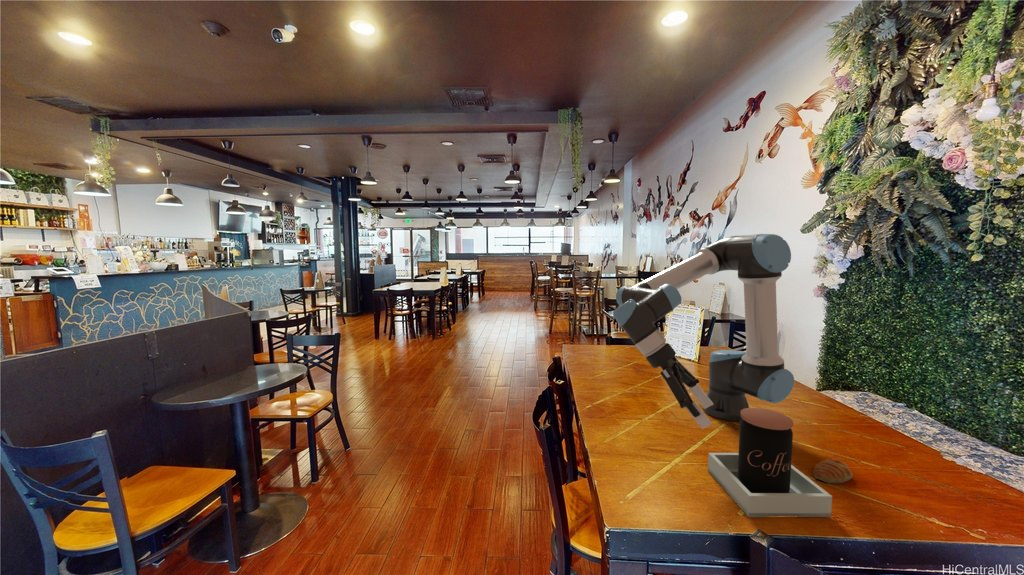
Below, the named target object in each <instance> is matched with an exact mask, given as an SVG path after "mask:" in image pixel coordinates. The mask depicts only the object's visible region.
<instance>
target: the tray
mask: <svg viewBox="0 0 1024 575" xmlns="http://www.w3.org/2000/svg"><path fill="white" fill-rule="evenodd" d="M707 456H708V457H707V472H709V474H710V473H711V474H710V475H711V476H712V477H713V478H714V480H715V481H716V482H717V483H718V484H719V485H720V486H721V488H722V489H723V490H724V491H725V492H726V493H727V494H728V496H729V497H730V498H731V499H732V501H734V502H735V503H737V504H736V505H737V506H738V508H740V509H741V511H742V512H743V511H744V512H743V513H744V514H745V515H746V516H747V517H748V518H767V517H766V516H794V517H793V518H795V516H797V517H826V518H827V517H829V518H827V519H830V518H832V505H833V495H831V494H830V493H829V492H827V491H826V490H825V489H824V488H823V487H821V486H820V485H818V484H817V483H816V482H815V481H813V480H812V479H810V478H809V477H808V476H807V475H806V474H804V473H803V472H802V471H800V470H799V469H798V468H796V467H795V466H794V465H793V464H791V478H790V491H789V493H752V492H750V491H749V490H748V489H747V488H746V487H745V486H744V485H743V484H742V483H741V482H740V481H739V479H738V456H739V452H708V454H707Z"/></svg>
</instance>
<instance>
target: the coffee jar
mask: <svg viewBox="0 0 1024 575" xmlns="http://www.w3.org/2000/svg"><path fill="white" fill-rule="evenodd" d="M740 414H741V417H742V419H741V420H740V421H739V431H738V432H739V435H738V436H739V438H738V453H739V456H738V479H739V481H740V482H741V483H742V484H743V485H744V486H745V487H746V488H747V489H748V490H749V491H750V492H752V493H789V491H790V478H791V465H792V457H793V440H794V439H793V438H794V433H793V430H792V428H793V426H794V420H793V419H792V418H791V417H790V416H787V415H786V414H784V413H782V412H778V411H776V410H772V409H767V408H761V407H749V408H745V409H742V410H741V411H740Z"/></svg>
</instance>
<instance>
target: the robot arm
mask: <svg viewBox="0 0 1024 575" xmlns="http://www.w3.org/2000/svg"><path fill="white" fill-rule="evenodd" d="M791 260H792V252H791V248H790V245H789V243H788V242H787V241H786V240H785V239H784V238H783V236H781V235H778V234H775V233H772V234H771V233H758V234H746V235H745V234H744V235H732V236H727V237H724V238H722V239H719V240H717V241H714V242H712V243H710V244H708V245H706V246H704V247H702V248H700V249H699V250H697V251H696V252H695V254H694V255H692V256H691V257H689V258H687V259H684V260H682V261H681V262H679V263H677V264H674V265H672V266H671V267H668V268H666V269H664V270H662V271H660V272H658V273H656V274H655V275H652V276H651V277H648V278H646V279H644V280H642V281H639V282H637V283H636V284H633V285H624V286H620V288H619V289H618V290H617V291H616V293H615V300H616V303H617V304H618V307H617V308H615V309H614V310H613V313H612V316H613V318H614V319H615V321H616V322H617V324H618V325H619V327H621V329H622V330H623V331H624V332H625V334H626V335H627V336H628V337H629V339H630V340H631V341H632V342H633V344H634V345H635V346H636V348H635V349H636V350H637V351H639V352H640V353H641V354H642V355H643V356H645V359H646V361H647V362H648V364H650V366H651V367H652V368H653V369H657V368H659V367H660V368H661V370H662V371H660V375H661V377H662V378H663V379H664V381H665V382H666V384H667V386H668V387H669V389H670V390H671V392H672V394H673V396H674V398H675V399H676V401H677V402H678V404H679V407H680V408H681V409H684V408H685V409H686V410H687V412H688V413H689V414H690V415H691V416H692V418H693V420H694V421H695V422H696V423H697V425H698V426H699V427H700V428H701V430H704V429H705V428H707V427H710V426H712V425H713V422H712V421H710V419H709V417H707V415H709V416H712V417H714V418H717V419H721V420H724V421H730V422H740V420H741V419H742V417H741V414H740V411H741V410H742V409H745V408H750V405H749V403H748V398H747V396H746V394H747V395H749V396H751V397H753V398H757V399H759V400H760V401H763V402H768V403H771V404H778V403H781V402H783V401H785V400H786V399H787V398H788V396H789V395H791V392H792V391H793V389H794V385H795V377H794V374H793V373H792V371H790V370H789V369H787V368H785V360H784V357H783V358H782V357H781V356H780V355H779V344H778V343H779V342H778V339H779V338H778V311H777V309H778V308H777V306H778V305H777V282H778V280H779V279H781V278H782V274H783V273H782V272H783V271H785V270H786V269H788V267H789V264H790V263H791ZM723 271H737V279H739V280H740V281H741V282H742V283H743V294H744V295H743V297H744V298H743V300H744V324H745V326H744V327H745V347H746V351H742V350H734V349H729V350H728V349H720V350H714V351H712V352H711V353H710V354H709V355H710V357H709V362H708V368H709V369H708V370H709V371H708V373H709V374H708V390H707V393H705V392H704V390H703V389H702V388H701V386H700V384H699V383H700V380H699V379H698V378H696V377H695V376H694V375H693V374H692V372H690V371H689V370H688V369H687V367H685V366H684V365H683V364H682V363H681V362H680V361H679V360H678V358H677V357H676V354H677V352H676V351H675V350H674V348H673V347H672V345H671V344H670V343H669V342H667V340H666V338H665V336H663V334H662V333H661V332H660V331H659V329H657V327H656V326H655V325H654V324H655V323H656V322H657V321H659V320H661V319H662V318H664V317H665V316H666V315H668V314H669V313H671V312H673V311H674V310H675V309H676V308H677V307H679V305H680V304H681V302H682V295H681V293H680V291H679V290H678V289H680V288H682V287H684V286H687V285H689V284H690V283H692V282H694V281H696V280H698V279H700V278H702V277H704V276H706V275H710V276H711V275H715V274H716V273H720V272H723ZM685 385H686V386H687V387H688V388H689V391H690V392H691V393H692V395H693V396H694V398H696V400H697V402H698V403H699V404H700V405H701V406H702V408H701V407H700V406H699V405H698V403H697V402H696V401H695V400H693V399H692V398H691V395H690V393H689V391H688V389H687V387H686V386H685ZM705 413H706V414H707V415H706V414H705Z"/></svg>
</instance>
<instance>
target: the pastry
mask: <svg viewBox="0 0 1024 575" xmlns="http://www.w3.org/2000/svg"><path fill="white" fill-rule="evenodd" d="M813 469H814V470H813V476H814V478H815V479H818V480H820V481H822V482H825V483H827V484H831V483H832V484H843V483H845V482H848V481H850V480H851V479H852V478H853V477H854V474H853V473H852V471H851V469H850V468H849V466H848V465H847V464H846V463H845V462H843V461H841V460H839V459H837V458H836V459H833V458H828V459H825V460H822V461H819V462H817V463H816V464H815V466H814V468H813ZM832 484H831V485H832Z"/></svg>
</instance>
